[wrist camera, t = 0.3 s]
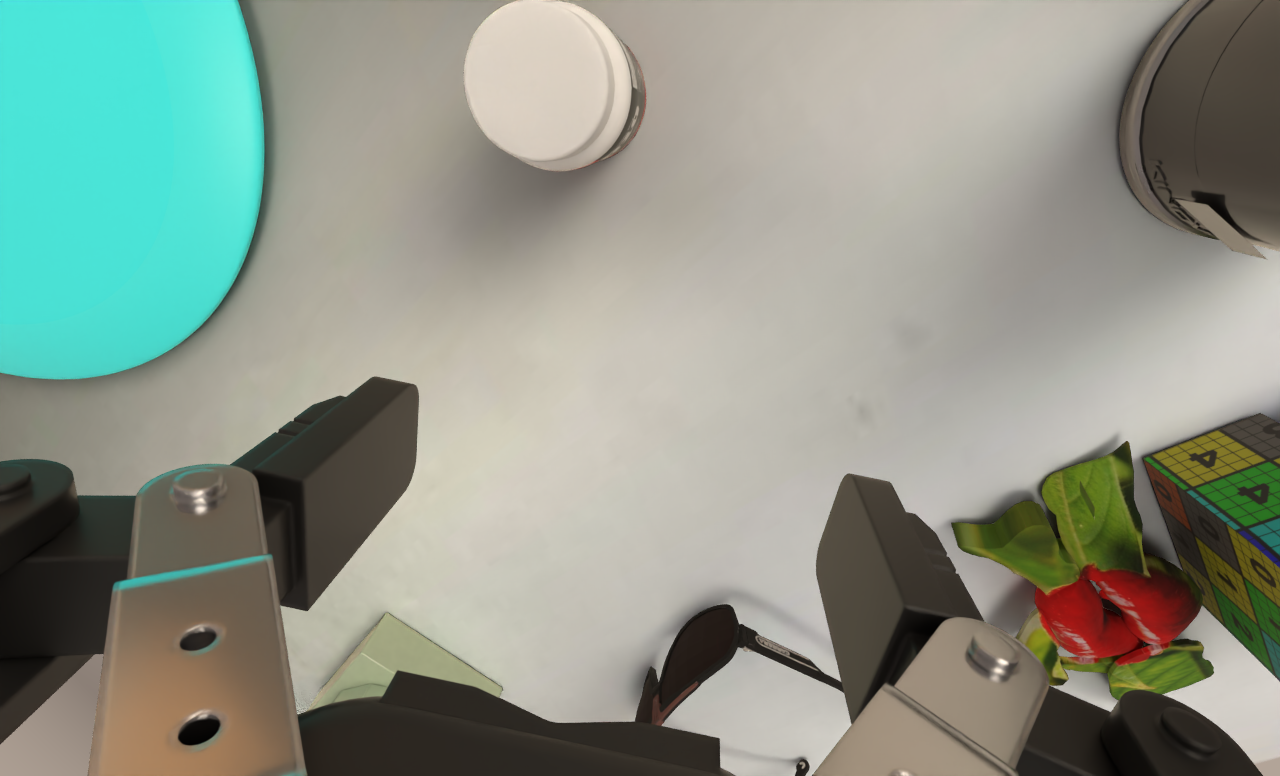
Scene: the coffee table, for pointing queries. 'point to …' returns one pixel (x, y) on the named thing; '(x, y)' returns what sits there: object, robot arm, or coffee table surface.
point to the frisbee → (121, 177)
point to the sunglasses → (712, 663)
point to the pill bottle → (553, 85)
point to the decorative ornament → (1112, 557)
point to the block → (1229, 525)
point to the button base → (395, 664)
